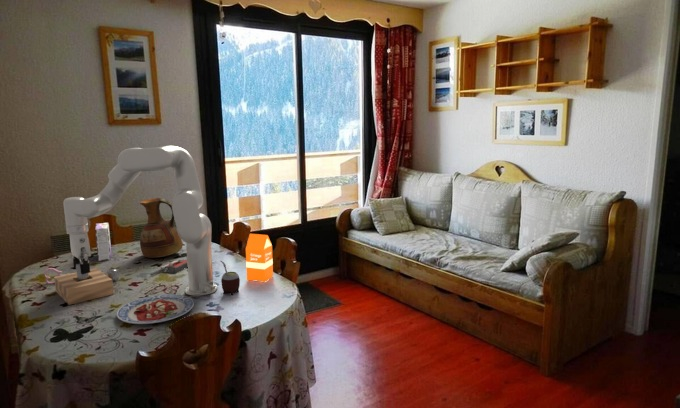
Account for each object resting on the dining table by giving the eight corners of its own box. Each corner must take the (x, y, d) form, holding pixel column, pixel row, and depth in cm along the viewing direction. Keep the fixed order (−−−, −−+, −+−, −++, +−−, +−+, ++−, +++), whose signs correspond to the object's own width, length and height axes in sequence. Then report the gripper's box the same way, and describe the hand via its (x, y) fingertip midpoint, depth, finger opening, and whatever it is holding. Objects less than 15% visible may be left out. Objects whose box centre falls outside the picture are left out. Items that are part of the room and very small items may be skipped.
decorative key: (96, 283, 204) (43, 284, 195) (96, 283, 205) (43, 283, 196) (97, 269, 203) (44, 268, 194) (97, 268, 204) (44, 267, 195)
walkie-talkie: (177, 264, 223) (149, 277, 204) (176, 255, 222) (148, 267, 203) (193, 265, 220) (165, 279, 202) (192, 256, 220) (164, 269, 201)
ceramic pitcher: (143, 252, 242) (138, 196, 237) (183, 248, 248) (179, 193, 243) (139, 262, 224) (133, 202, 219) (182, 259, 230) (178, 200, 224)
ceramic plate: (106, 313, 166) (105, 305, 165) (174, 294, 184) (174, 287, 183) (134, 336, 148) (133, 328, 147) (207, 313, 166) (206, 305, 165)
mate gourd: (238, 288, 189) (236, 253, 186) (241, 295, 182) (240, 258, 179) (220, 291, 186) (218, 255, 184) (222, 298, 179) (220, 261, 176)
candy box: (99, 254, 239) (96, 223, 236) (111, 252, 241) (108, 222, 238) (97, 261, 227) (94, 228, 224) (111, 259, 229) (108, 227, 226)
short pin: (120, 281, 199) (118, 270, 198) (110, 283, 196) (109, 272, 195) (116, 278, 201) (115, 267, 201) (107, 281, 199) (105, 270, 198)
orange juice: (265, 283, 195) (263, 237, 192) (246, 280, 198) (244, 235, 195) (273, 277, 203) (272, 232, 199) (255, 275, 206) (253, 231, 202)
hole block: (113, 293, 184) (112, 279, 183) (68, 304, 173) (67, 289, 172) (98, 281, 198) (96, 268, 197) (55, 291, 187) (53, 276, 186)
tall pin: (91, 292, 185) (88, 264, 183) (80, 295, 183) (77, 266, 181) (88, 290, 188) (85, 261, 186) (77, 292, 186) (74, 263, 183)
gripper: (94, 230, 177) (98, 273, 180) (81, 223, 190) (85, 263, 193) (72, 234, 172) (77, 277, 175) (60, 226, 184) (65, 267, 188)
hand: (82, 270), depth 184 cm, fingers open, 9 cm apart
